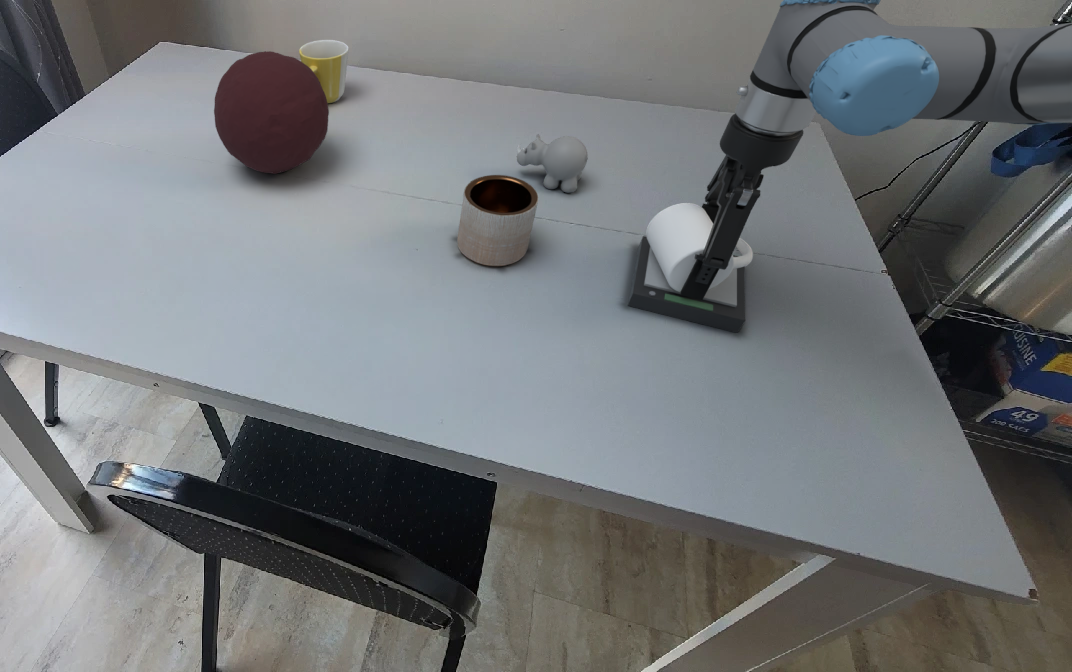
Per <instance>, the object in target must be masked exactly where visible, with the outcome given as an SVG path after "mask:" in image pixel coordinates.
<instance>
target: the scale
mask: <svg viewBox="0 0 1072 672" xmlns="http://www.w3.org/2000/svg"><path fill="white" fill-rule="evenodd" d="M732 255H733V257H739V256H740V255H735V254H732ZM634 262H635V263H634V268H633V274H632V280H631V285H630V291H629V296H628V301H627V306H628V307H632V308H635V309H639V310H643V311H647V312H652V313H656V314H658V315H659V314H660V315H664V316H668V317H671V318H676V319H680V320H684V321H688V322H691V323H696V324H700V325H704V326H707V327H712V328H715V329H720V330H723V331H728V332H732V333H736V334H737V333H739V332H740V330H741V329H742V327H743V325H744V324H745V322H746V266H744V267H741V268H735V269H732V271H731V273H730V274H729V276H728V277H727V278H726V279H725V280H724V281H723V282H721V283H720V284H718V285H717V286H715V287H713V288H711V289H709V290H708V291H707V293H706V294H705V296H704V298H703V300H699V299H695V298H691V297H687V296H683V295H680V294H681V292H678V291H676V290H674V289H673V288H671V287H670V285H669V284H668V282H667V280H666V277H665V275H664V273H663V271H662V269H661V267H660V265H659V263H658V261H657V259H656V257H655V255H654V253H653V250H652V248H651V246H650V244H649V242H648V240H647V237H646V235H643V236H642V237H641V240H640V242H639V245H638V248H637V252H636V258H635V261H634Z"/></svg>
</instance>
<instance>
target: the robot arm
mask: <svg viewBox="0 0 1072 672" xmlns="http://www.w3.org/2000/svg"><path fill="white" fill-rule="evenodd" d="M879 4H881V0H782V1H781V2H780V4H779V9H778V12H777V14H776V17H775V19H774V21H773V23H772V25H771V28H770V30H769V31H768V35H767V37H766V39H765V41H764V44H763V46H762V48H761V50H760V52H759V55H758V58H757V60H756V61H755V64H754V67H753V68H752V71H751V73H750V75H749V78H748V80H747V85H740V86H738V87H737V91H736V95H738V96H740V97H739V100H738V101H737V103H736V106H735V108H734V112H735V113H734V114H732V115H731V116H730V118H729V120H728V122H727V124H726V126H725V129H724V131H723V133H722V136H721V138H720V140H719V147H720V150H721V151H722V153H723V154H724V155H725V156H724V157H723V159H722V161H721V163H720V164H719V166H718V167H717V170H716V171H715V173H714V174H713V176H712V178H711V180H710V181H709V183H708V184H707V185H706V191H707V194H706V195H705V196H704V202H703V203H702V206H701V207H702V208H703V209H704V210H705V211H706V213H707V215H708V216H709V218H710V219H711V221H712V223H713V226H712V229H711V232H710V235H709V237H708V240H707V243H706V246H705V249H704V251H703V254H699V255H697V254H695V259H697V260H696V262H695V264H694V266H693V268H692V270H691V272H690V274H689V276H688V278H687V280H686V282H685V284H684V286H683V288H682V290H681V294H680V295H683V296H687V297H691V298H695V299H699V300H703V298H704V296H705V294H706V293H707V291H708V289H709V287H710V285H711V283H712V282H713V280H714V278H715V276H716V274H717V272H718V271H719V269H723V270H725V269H726V268H727V267H728V263H729V261H730V258H731V256H732V255H734V254H733V253H734V251H735V249H736V245H737V242H738V240H739V238H741V235H742V232H743V231H744V228H745V226H746V224H747V221H748V219H749V217H750V214H751V212H752V210H753V208H754V207H755V205H756V203H757V201H758V199H760V197H761V192H762V191H761V189H759V188H760V187H761V185H762V182H763V180H764V176H765V175H764V174H762V171H763V170H765V169H767V168H772V167H778V166H781V165H783V164H785V163H786V162H789V160H790V159H791V157H792V156H793V154H794V151H795V150H796V148H797V146H798V145H799V143H800V141H801V139H802V137H803V136H804V130H805V129H806V128H808V127H809V126H810V124H811V122H812V121H813V119H814V117H815V116H816V113H817V114H818V115H820V117H822V118H823V119H824V120H827V121H828V122H829V123H830V124H831V125H832V126H833V127H834V128H836V130H838V131H840V132H842V133H844V134H846V135H850V136H857V137H868V136H875V135H877V134H879V133H883V132H886V131H889V130H895V129H897V128H899V127H901V126H903V125H905V124H907V123H908V122H909V121H911V120H936V121H937V120H938V121H940V120H948V121H967V122H983V123H984V122H985V123H1004V124H1011V125H1012V124H1013V125H1028V126H1029V125H1030V126H1041V125H1046V124H1062V123H1063V124H1064V123H1065V124H1072V22H1067V23H1061V24H1053V25H1046V26H1038V27H1019V28H1018V27H1014V28H1013V27H1009V28H1007V27H1005V28H1003V27H1002V28H1001V27H999V28H997V27H994V28H992V27H989V28H987V27H986V28H983V27H970V26H968V27H967V26H966V27H965V26H927V25H924V26H922V25H897V24H893V23H890V22H888V21H887V20H885V19H884V18H883V17H882V16H880V15H879V14H878V13H877V12H876V11H875V9H876V7H877V6H878V5H879Z"/></svg>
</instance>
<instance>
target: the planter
mask: <svg viewBox="0 0 1072 672" xmlns="http://www.w3.org/2000/svg"><path fill="white" fill-rule="evenodd" d="M462 196H463V197H462V204H461V211H460V218H459V223H458V231H457V237H456V239H457V241H456V242H457V247H458V250H459V251H460V253H462V254H463V255H464V256H465V257H466V258H467V259H469V260H471V261H473V262H475V263H477V264H480V265H484V266H490V267H502V266H507V265H512V264H515V263H517V262H518V261H520V260H521V259H523V257H524V256H525V255H526V254H527V251H528V249H529V245H530V240H531V235H532V231H533V226H534V221H535V217H536V212H537V208H538V204H539V194H538V192H537V190H536V189H535V187H533V186H532V184H530V183H528V182H527V181H525V180H523V179H520V178H518V177H514V176H510V175H506V174H505V175H504V174H489V175H483V176H479V177H477V178H475V179H472V180H471V181H469V182H468V183H467V184H466V186H465V187H464V190H463V195H462Z"/></svg>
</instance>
